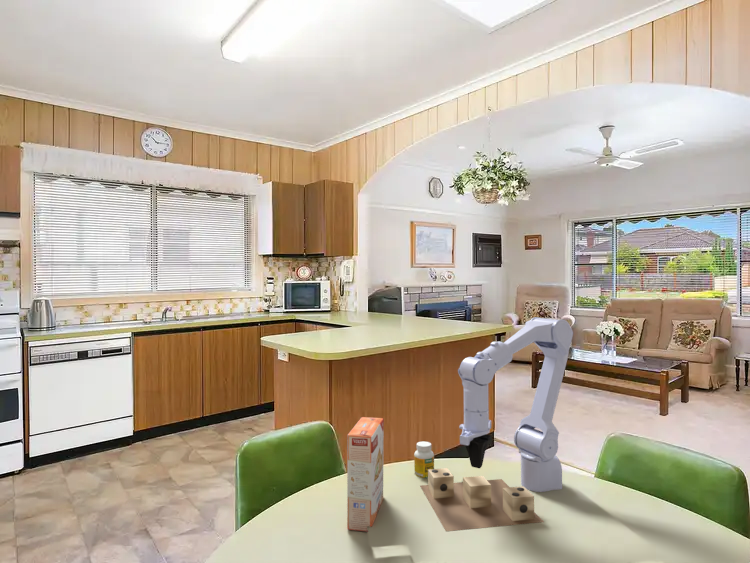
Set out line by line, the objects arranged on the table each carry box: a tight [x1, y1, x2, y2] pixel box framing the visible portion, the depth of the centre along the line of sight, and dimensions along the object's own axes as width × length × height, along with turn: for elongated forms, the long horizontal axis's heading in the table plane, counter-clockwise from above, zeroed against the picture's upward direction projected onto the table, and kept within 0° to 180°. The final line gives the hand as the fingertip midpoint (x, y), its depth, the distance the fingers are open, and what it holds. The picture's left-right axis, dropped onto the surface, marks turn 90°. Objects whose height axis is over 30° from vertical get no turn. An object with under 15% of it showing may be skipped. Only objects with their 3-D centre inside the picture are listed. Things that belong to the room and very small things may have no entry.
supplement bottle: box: [413, 441, 435, 479], centre depth 127 cm, size 5×5×10 cm
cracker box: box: [346, 416, 385, 533], centre depth 108 cm, size 14×6×21 cm, turn 168°
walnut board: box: [419, 478, 545, 532], centre depth 111 cm, size 22×22×2 cm
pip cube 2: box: [503, 485, 535, 521], centre depth 105 cm, size 5×5×5 cm
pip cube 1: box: [427, 467, 455, 499], centre depth 116 cm, size 5×5×5 cm
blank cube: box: [462, 475, 491, 508], centre depth 111 cm, size 5×5×5 cm
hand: (476, 466), depth 111 cm, fingers closed
